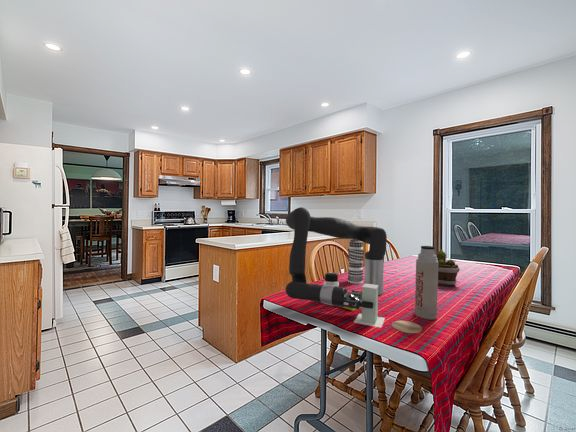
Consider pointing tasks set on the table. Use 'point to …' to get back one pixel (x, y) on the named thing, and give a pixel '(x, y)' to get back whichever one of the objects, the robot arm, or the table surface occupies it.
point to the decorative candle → (355, 261)
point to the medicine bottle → (331, 279)
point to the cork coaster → (406, 326)
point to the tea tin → (371, 296)
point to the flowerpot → (446, 270)
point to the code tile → (359, 320)
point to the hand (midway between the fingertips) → (375, 302)
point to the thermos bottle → (426, 283)
